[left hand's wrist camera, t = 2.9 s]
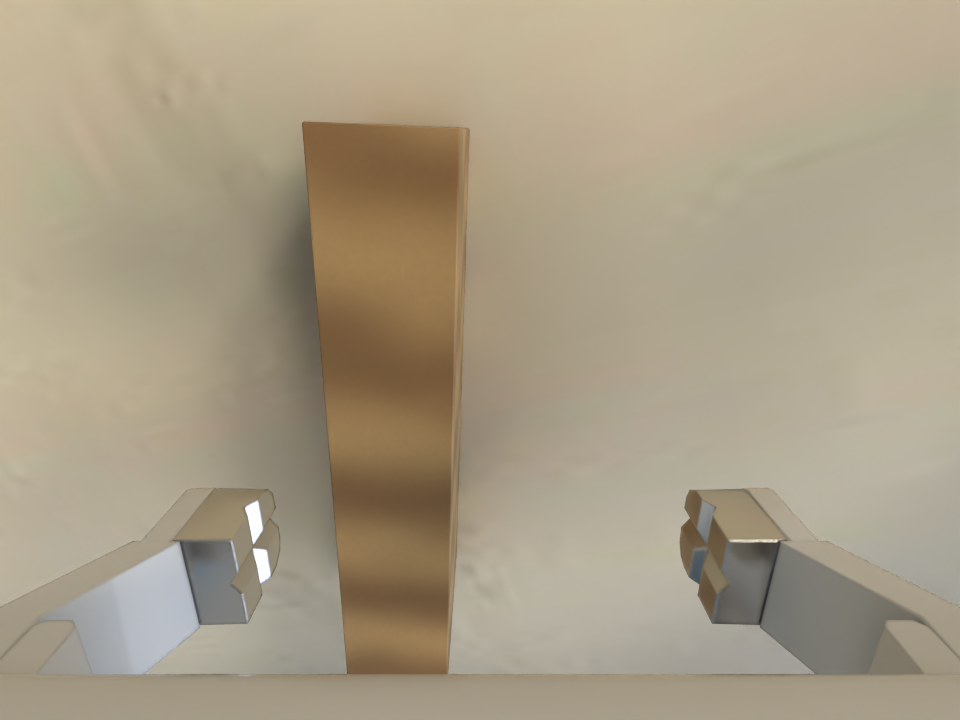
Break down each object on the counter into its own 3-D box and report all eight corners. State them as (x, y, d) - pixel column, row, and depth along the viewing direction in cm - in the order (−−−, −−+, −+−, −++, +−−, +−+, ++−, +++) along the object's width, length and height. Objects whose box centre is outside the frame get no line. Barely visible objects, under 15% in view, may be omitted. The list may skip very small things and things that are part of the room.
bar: (365, 123, 25) (301, 121, 16) (469, 128, 25) (460, 128, 16) (382, 554, 35) (348, 692, 27) (456, 556, 35) (446, 696, 27)
